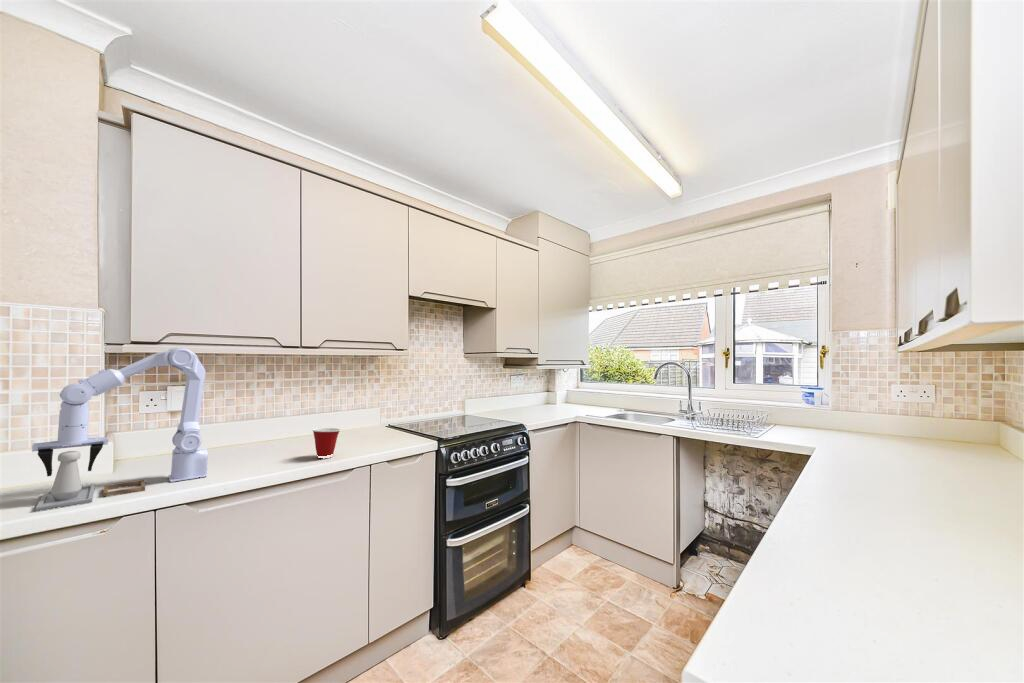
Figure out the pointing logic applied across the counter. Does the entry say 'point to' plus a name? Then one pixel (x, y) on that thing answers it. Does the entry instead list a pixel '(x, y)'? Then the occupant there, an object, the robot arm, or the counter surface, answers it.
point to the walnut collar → (124, 489)
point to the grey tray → (50, 503)
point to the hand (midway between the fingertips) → (70, 472)
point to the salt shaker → (67, 477)
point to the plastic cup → (325, 440)
